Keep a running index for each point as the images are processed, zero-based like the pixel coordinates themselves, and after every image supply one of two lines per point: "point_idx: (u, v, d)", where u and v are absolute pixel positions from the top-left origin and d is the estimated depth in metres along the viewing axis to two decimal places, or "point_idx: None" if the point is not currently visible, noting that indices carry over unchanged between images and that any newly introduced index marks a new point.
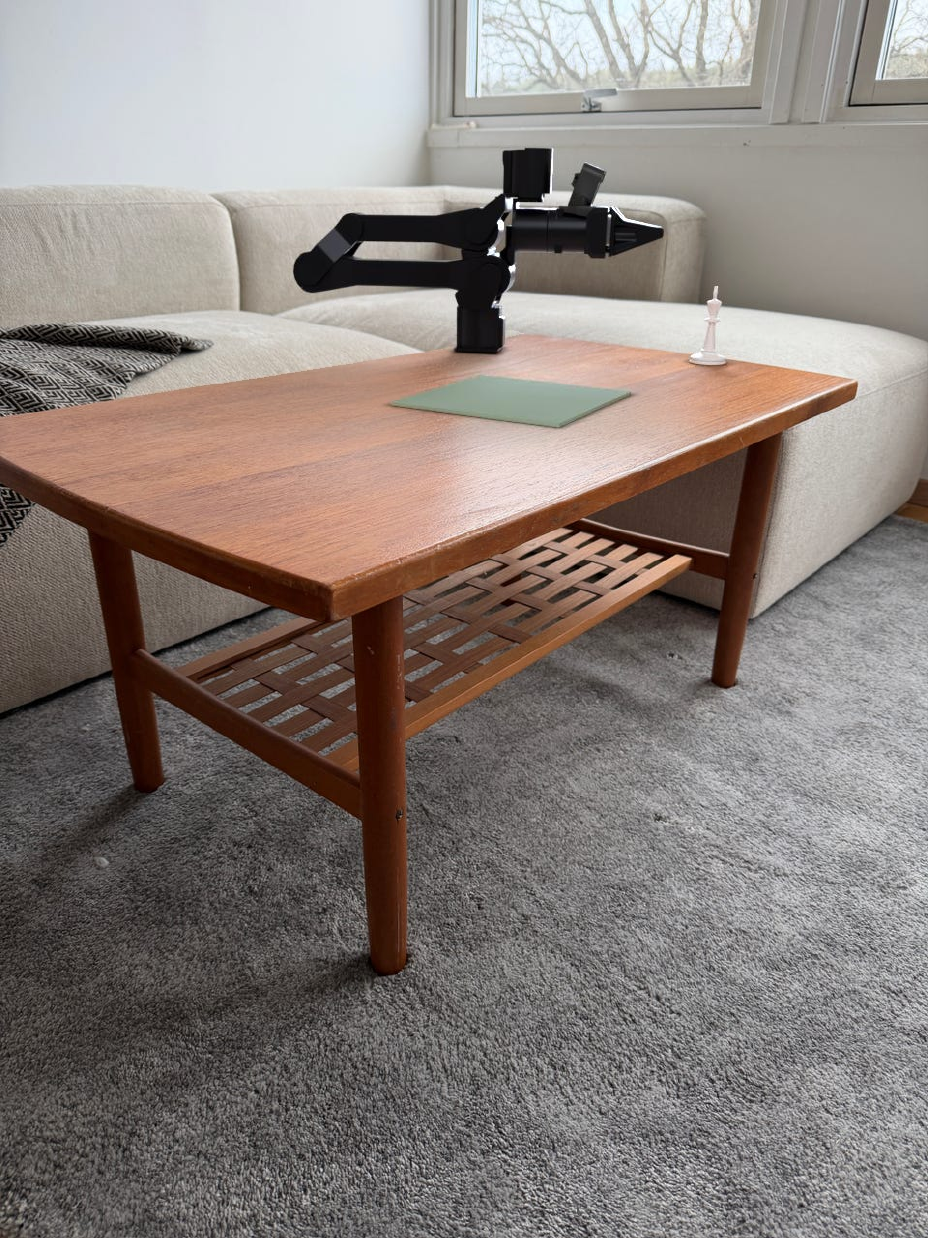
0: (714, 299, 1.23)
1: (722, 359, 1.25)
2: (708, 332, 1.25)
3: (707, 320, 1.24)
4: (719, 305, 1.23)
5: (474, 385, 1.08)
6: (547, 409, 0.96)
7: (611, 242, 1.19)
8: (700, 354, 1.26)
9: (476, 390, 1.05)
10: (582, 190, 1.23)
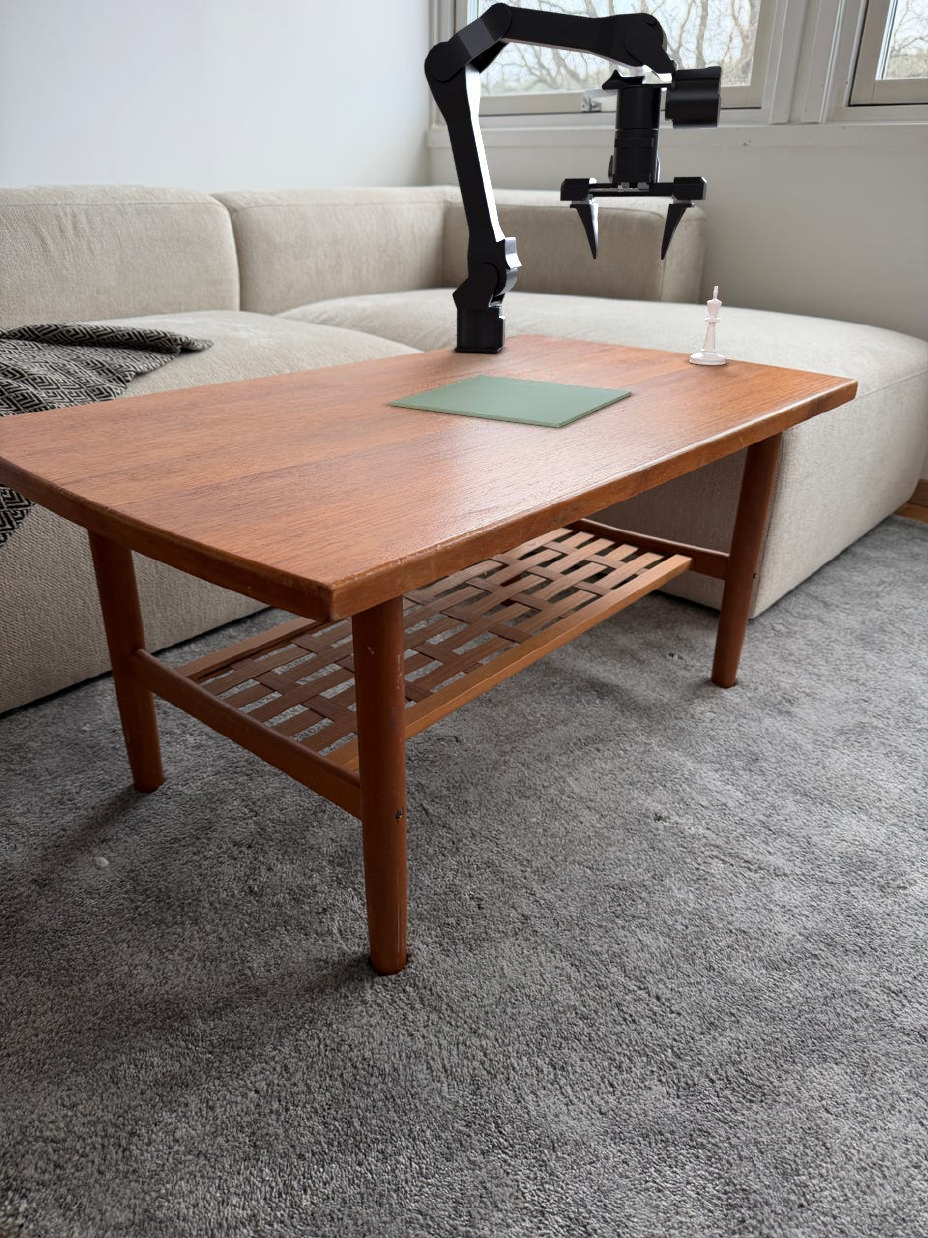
0: (714, 299, 1.23)
1: (722, 359, 1.25)
2: (708, 332, 1.25)
3: (707, 320, 1.24)
4: (719, 305, 1.23)
5: (474, 385, 1.08)
6: (547, 409, 0.96)
7: (692, 205, 1.19)
8: (700, 354, 1.26)
9: (476, 390, 1.05)
10: None
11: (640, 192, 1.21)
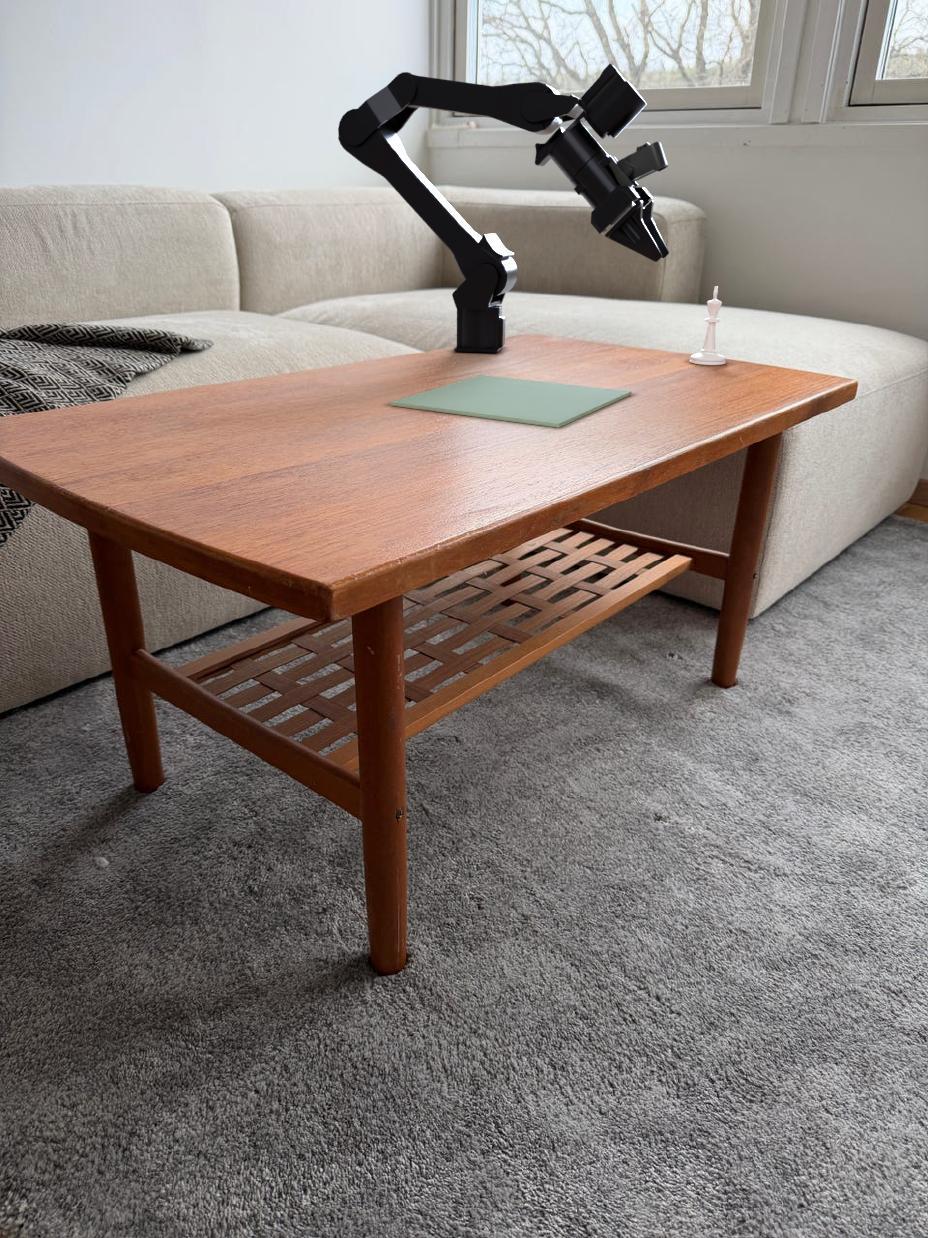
0: (714, 299, 1.23)
1: (722, 359, 1.25)
2: (708, 332, 1.25)
3: (707, 320, 1.24)
4: (719, 305, 1.23)
5: (474, 385, 1.08)
6: (547, 409, 0.96)
7: (615, 226, 1.16)
8: (700, 354, 1.26)
9: (476, 390, 1.05)
10: (636, 162, 1.18)
11: None
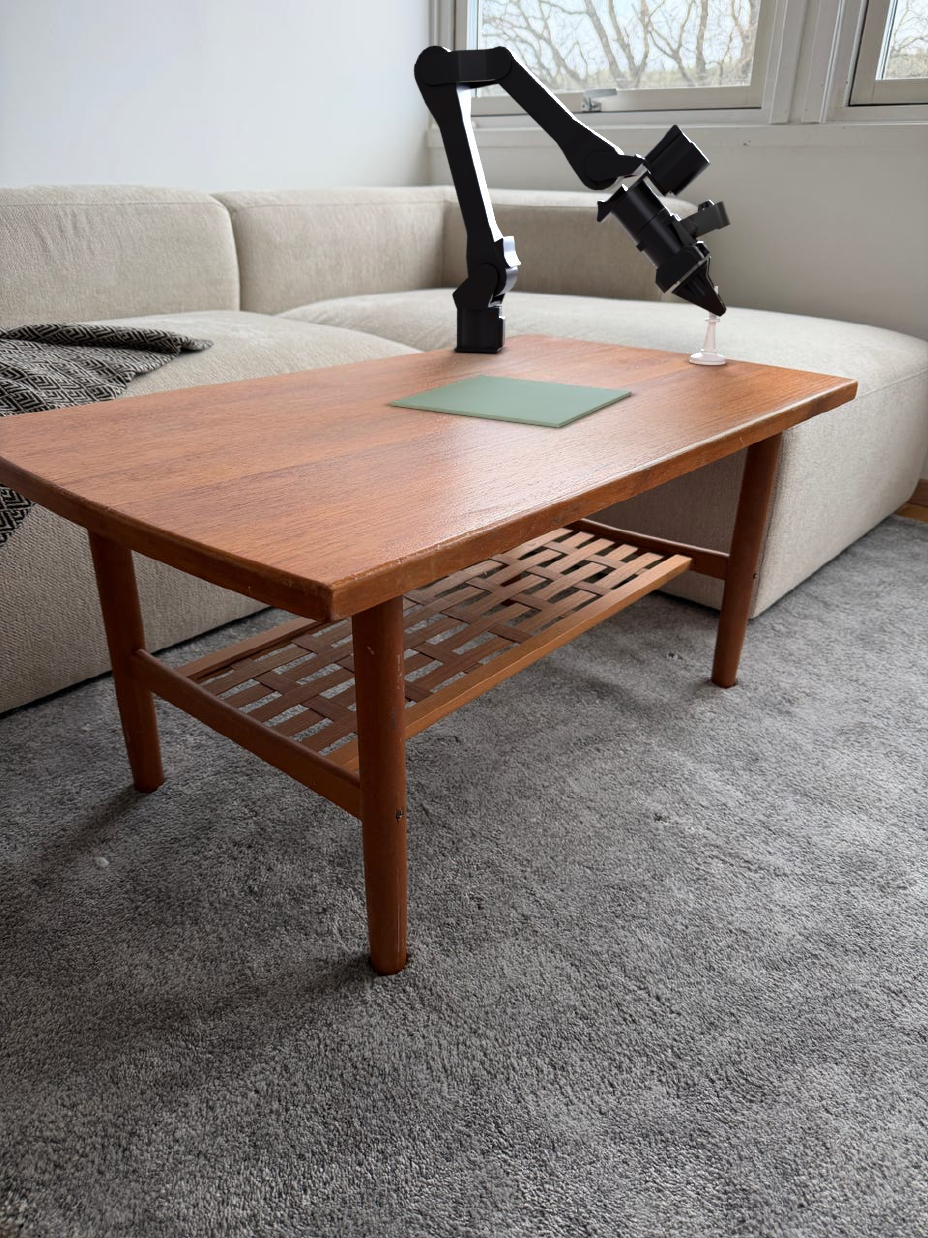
0: None
1: (722, 359, 1.25)
2: (708, 332, 1.25)
3: (707, 320, 1.24)
4: None
5: (474, 385, 1.08)
6: (547, 409, 0.96)
7: (682, 284, 1.20)
8: (700, 354, 1.26)
9: (476, 390, 1.05)
10: (699, 221, 1.18)
11: None
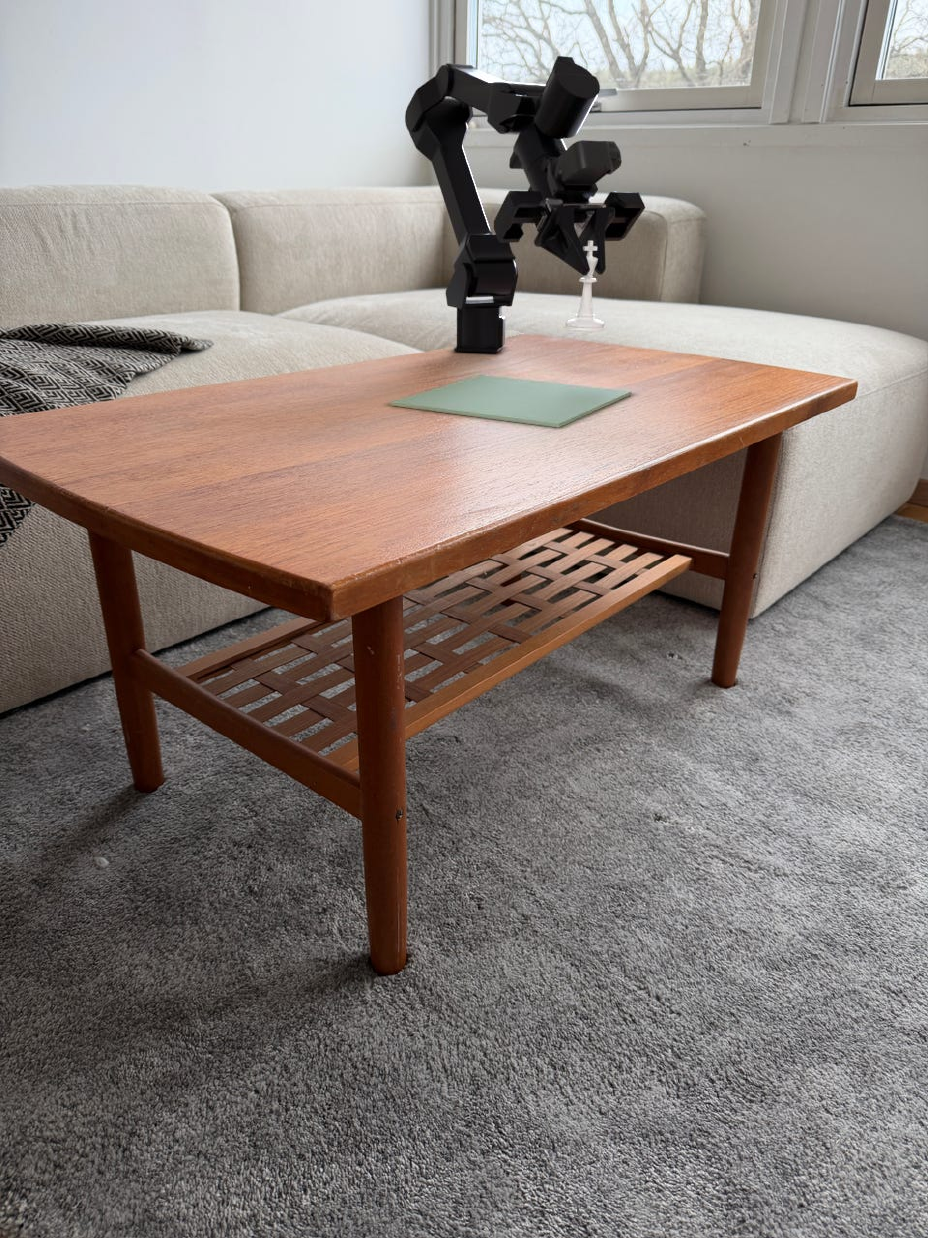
0: (587, 255, 1.08)
1: (586, 325, 1.09)
2: (582, 293, 1.10)
3: None
4: (588, 262, 1.08)
5: (474, 385, 1.08)
6: (547, 409, 0.96)
7: (538, 234, 1.09)
8: (574, 318, 1.12)
9: (476, 390, 1.05)
10: (563, 164, 1.05)
11: None
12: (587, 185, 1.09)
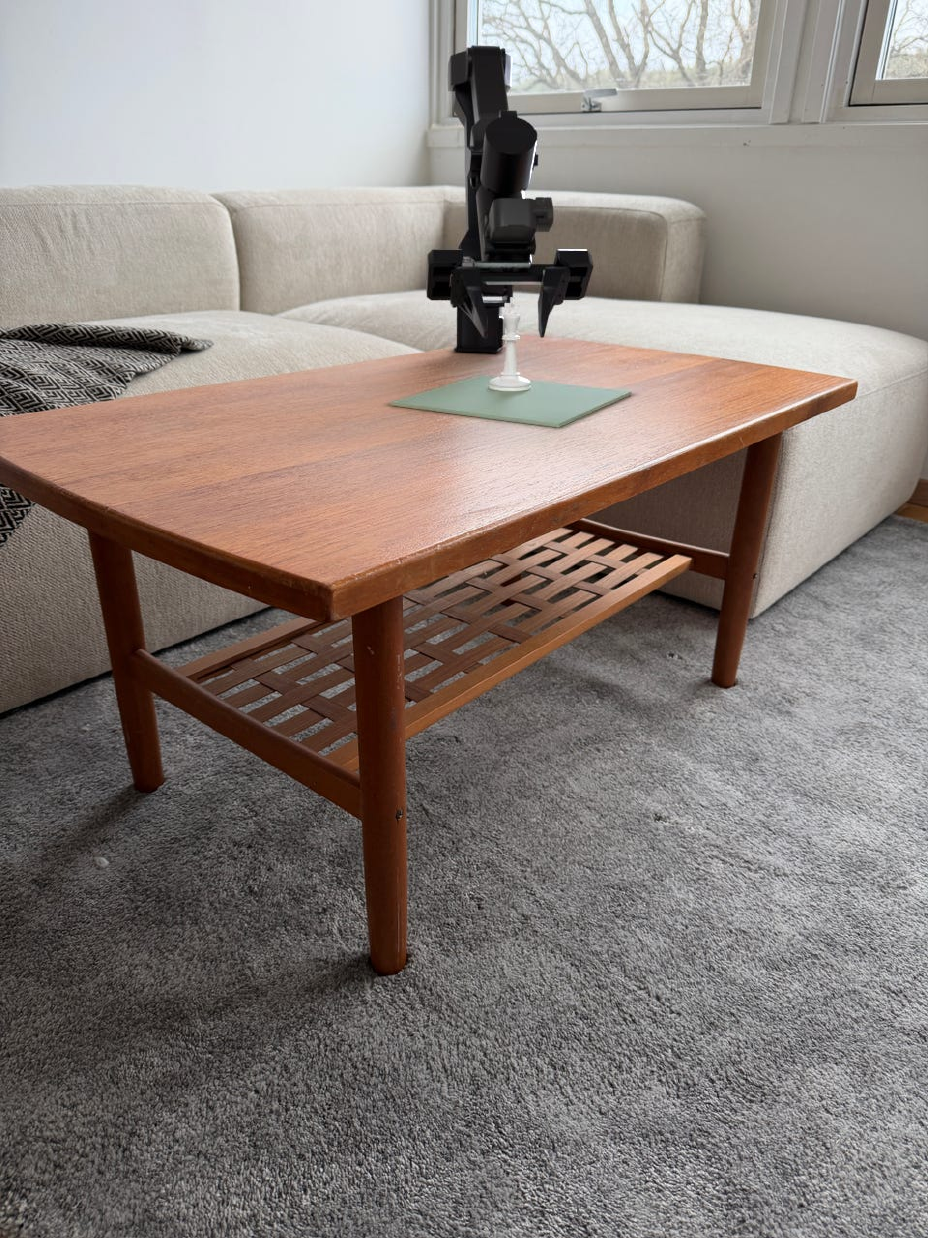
0: None
1: (502, 385, 1.04)
2: (506, 351, 1.05)
3: None
4: (507, 320, 1.03)
5: (474, 385, 1.08)
6: (547, 409, 0.96)
7: (450, 293, 1.05)
8: None
9: (476, 390, 1.05)
10: (490, 222, 1.01)
11: None
12: (524, 243, 1.03)
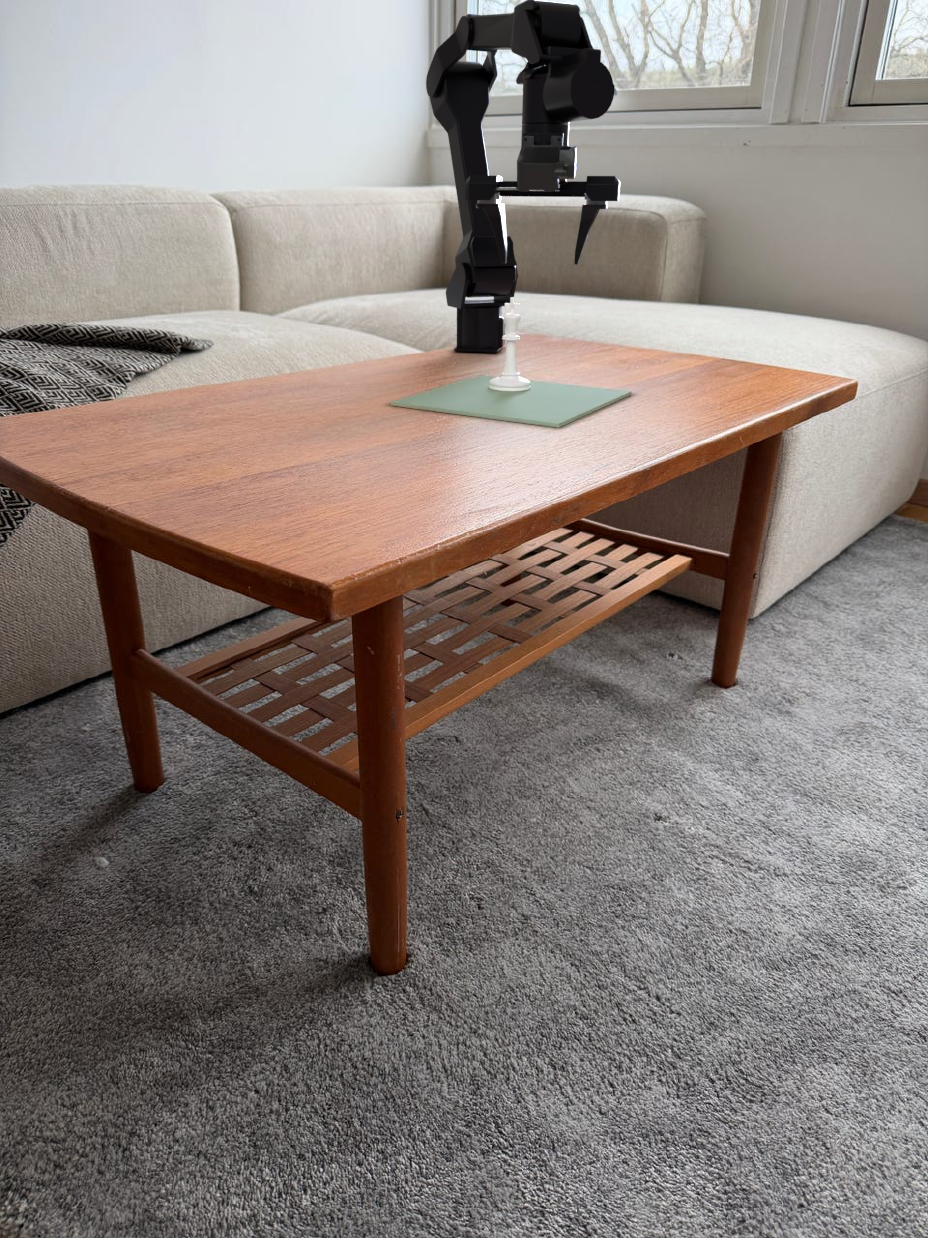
0: None
1: (502, 385, 1.04)
2: (506, 351, 1.05)
3: None
4: (507, 320, 1.03)
5: (474, 385, 1.08)
6: (547, 409, 0.96)
7: None
8: None
9: (476, 390, 1.05)
10: None
11: None
12: None
